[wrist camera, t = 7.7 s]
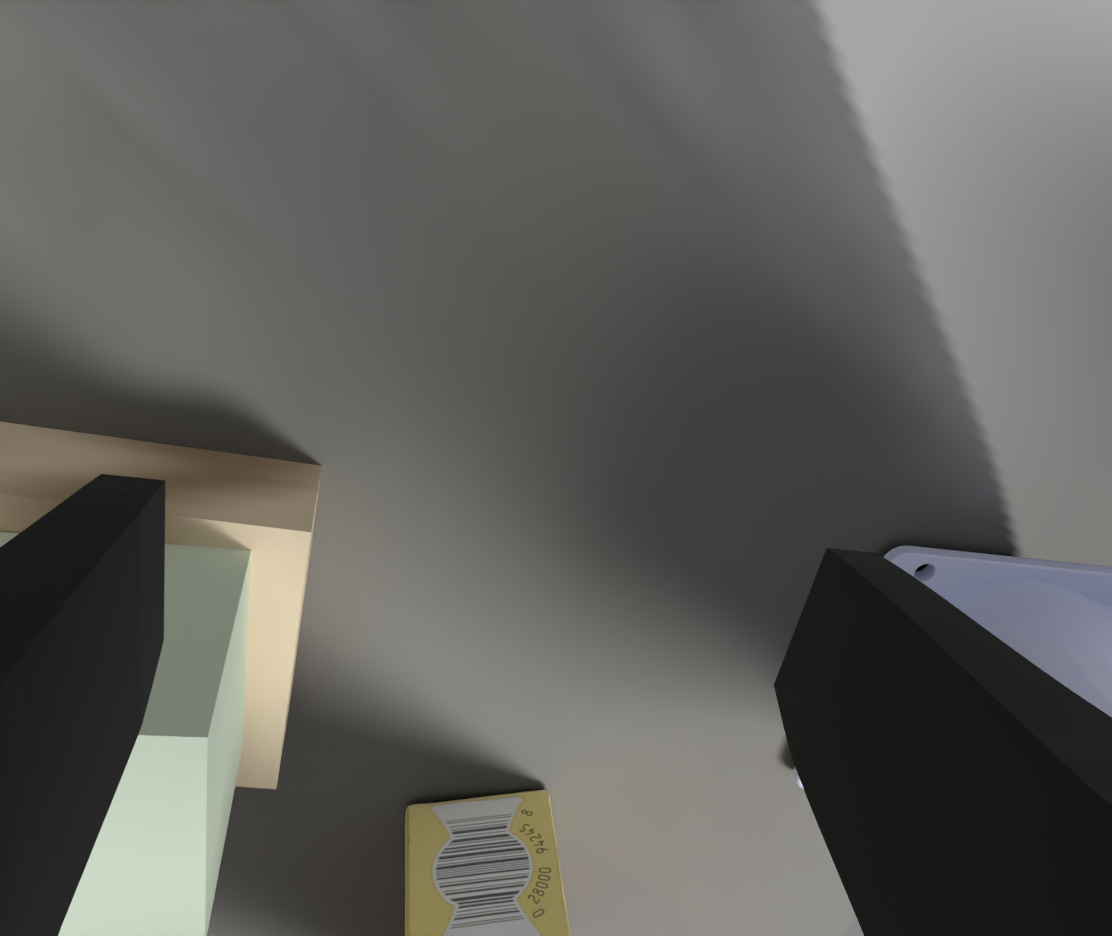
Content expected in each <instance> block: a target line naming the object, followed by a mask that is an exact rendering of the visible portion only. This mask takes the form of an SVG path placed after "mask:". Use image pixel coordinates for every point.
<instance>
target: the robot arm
mask: <svg viewBox="0 0 1112 936" xmlns="http://www.w3.org/2000/svg"><path fill="white" fill-rule="evenodd" d="M165 482H166V480H157V479H148V478H138V477H128V476H118V475H108V474H100V475H99V476H98V477H96V478H95V479H93V480H92V481H90V482H89V483H88V484H86V485H85V486H83V487H82V488H81V489H79V490H78V491H76V492H75V493H74V494H72V495H71V496H69V497H68V498H67V499H65V500H64V501H63V502H61V503H60V504H58V505H57V506H56V507H54V508H53V509H52V510H50V511H49V512H48V513H46V514H45V515H44V516H42V517H41V518H40V519H38V520H37V521H36V522H34V523H33V524H31V525H30V526H29V527H27V528H26V529H25V530H23V531H22V532H20V533H19V534H18V535H16V536H15V537H14V538H12V539H11V540H10V541H8V542H7V543H5V544H4V545H2V546H1V547H0V936H58V935H59V932H60V929H61V926H62V924H63V921H64V919H65V916H66V914H67V912H68V909H69V907H70V904H71V902H72V899H73V897H74V894H75V892H76V889H77V887H78V884H79V882H80V879H81V877H82V874H83V872H84V869H85V867H86V864H87V862H88V859H89V857H90V855H91V852H92V850H93V847H94V845H95V842H96V840H97V837H98V835H99V832H100V830H101V827H102V825H103V822H104V820H105V817H106V815H107V812H108V810H109V807H110V805H111V803H112V800H113V798H114V795H115V793H116V790H117V788H118V785H119V783H120V780H121V777H122V775H123V772H124V770H125V767H126V765H127V762H128V760H129V757H130V755H131V752H132V750H133V747H134V745H135V742H136V740H137V737H138V734H139V732H140V729H141V727H142V723H143V719H144V716H145V712H146V708H147V704H148V701H149V697H150V693H151V689H152V686H153V682H154V678H155V674H156V670H157V666H158V662H159V658H160V654H161V650H162V646H163V642H164V577H165ZM923 564H928V565H927V566H926V567H925V569H923V570H921V571H919V572H915V571H916V570H917V568H918V567H920V566H921V565H923ZM774 687H775V691H776V695H777V700H778V704H779V708H780V713H781V717H782V721H783V726H784V730H785V733H786V737H787V741H788V744H789V748H790V752H791V755H792V759H793V763H794V765H795V767H794V772H793V774H794V776H795V779H796V781H797V783H798V786H799V787H801V788H802V789H804V791H805V793H806V796H807V798H808V801H809V803H810V806H811V808H812V811H813V813H814V816H815V818H816V821H817V823H818V826H819V828H820V830H821V833H822V835H823V838H824V840H825V842H826V845H827V847H828V849H829V852H830V854H831V857H832V859H833V861H834V864H835V866H836V869H837V871H838V873H839V876H840V878H841V881H842V883H843V885H844V888H845V890H846V893H847V895H848V897H849V900H850V902H851V905H852V907H853V909H854V912H855V914H856V917H857V919H858V921H859V924H860V926H861V929H862V931H863V933H864V936H1112V567H1106V566H1097V565H1088V564H1078V563H1069V562H1059V561H1049V560H1040V559H1030V558H1021V557H1011V556H1002V555H992V554H983V553H973V552H964V551H954V550H945V549H935V548H925V547H916V546H899V547H896V548H894V549H892V550H890V551H889V552H888V553H887V554H885V556H884V558H883V557H882V556H880V555H878V554H876V553H870V552H860V551H850V550H840V549H831V548H827V549H826V552H825V554H824V557H823V559H822V562H821V565H820V567H819V570H818V572H817V575H816V577H815V580H814V583H813V585H812V588H811V590H810V593H809V596H808V598H807V601H806V603H805V606H804V608H803V611H802V614H801V616H800V619H799V621H798V624H797V627H796V629H795V632H794V634H793V637H792V640H791V642H790V645H789V647H788V650H787V652H786V655H785V658H784V660H783V663H782V665H781V668H780V671H779V673H778V676H777V678H776V681H775V684H774Z"/></svg>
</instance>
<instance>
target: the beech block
mask: <svg viewBox="0 0 1112 936" xmlns="http://www.w3.org/2000/svg"><path fill="white" fill-rule="evenodd" d="M321 470H322V466H321V465H314V464H307V463H299V462H292V461H285V460H277V459H270V458H263V457H256V456H248V455H241V454H234V453H226V452H219V451H212V450H204V449H197V448H190V447H182V446H175V445H168V444H161V443H153V442H146V441H139V440H131V439H124V438H117V437H109V436H102V435H95V434H87V433H80V432H73V431H66V430H58V429H51V428H44V427H36V426H29V425H22V424H14V423H7V422H0V532H6V533H20V532H22V531H23V530H25V529H26V528H27V527H29V526H30V525H31V524H33V523H34V522H36V521H37V520H38V519H40V518H41V517H42V516H44V515H45V514H46V513H48V512H49V511H50V510H52V509H53V508H54V507H56V506H57V505H58V504H60V503H61V502H63V501H64V500H65V499H67V498H68V497H69V496H71V495H72V494H74V493H75V492H76V491H78V490H79V489H81V488H82V487H83V486H85V485H86V484H88V483H89V482H90V481H92V480H93V479H95V478H96V477H98V476H99V475H100V474H108V475H118V476H128V477H138V478H148V479H157V480H166V482H165V544H175V545H190V546H204V547H217V548H230V549H243V550H251V567H250V594H249V620H248V647H247V673H246V700H245V726H244V743H243V748H242V753H241V758H240V764H239V769H238V774H237V779H236V785H235V787H250V788H264V789H277V782H278V776H279V770H280V763H281V757H282V751H283V745H284V738H285V732H286V726H287V719H288V713H289V707H290V699H291V692H292V685H293V677H294V670H295V662H296V655H297V648H298V640H299V633H300V625H301V618H302V611H303V603H304V596H305V589H306V581H307V574H308V566H309V559H310V552H311V544H312V537H313V529H314V522H315V515H316V507H317V500H318V493H319V485H320V478H321Z"/></svg>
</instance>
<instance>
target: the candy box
mask: <svg viewBox="0 0 1112 936" xmlns="http://www.w3.org/2000/svg"><path fill="white" fill-rule="evenodd" d="M405 936H571V934H570V928H569V922H568V916H567V909H566V903H565V897H564V890H563V884H562V877H561V871H560V864H559V857H558V850H557V844H556V837H555V831H554V824H553V817H552V809H551V801H550V794H549V792H548V791H547V790H537V791H526V792H518V793H510V794H501V795H492V796H484V797H476V798H469V799H461V800H451V801H444V802H436V803H422V804H413V805H410V806H408V807H407V809H406V813H405Z"/></svg>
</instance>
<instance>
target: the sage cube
mask: <svg viewBox="0 0 1112 936" xmlns="http://www.w3.org/2000/svg"><path fill="white" fill-rule="evenodd" d="M18 534H19V533H6V532H0V547H1V546H2V545H4V544H5V543H7V542H8V541H10V540H11V539H12V538H14V537H15V536H16V535H18ZM250 567H251V550H243V549H230V548H217V547H204V546H190V545H175V544H165V577H164V642H163V646H162V650H161V654H160V658H159V662H158V666H157V670H156V674H155V678H154V682H153V686H152V689H151V693H150V697H149V701H148V704H147V708H146V712H145V716H144V719H143V723H142V727H141V729H140V732H139V734H138V737H137V740H136V742H135V745H134V747H133V750H132V752H131V755H130V757H129V760H128V762H127V765H126V767H125V770H124V772H123V775H122V777H121V780H120V783H119V785H118V788H117V790H116V793H115V795H114V798H113V800H112V803H111V805H110V807H109V810H108V812H107V815H106V817H105V820H104V822H103V825H102V827H101V830H100V832H99V835H98V837H97V840H96V842H95V845H94V847H93V850H92V852H91V855H90V857H89V859H88V862H87V864H86V867H85V869H84V872H83V874H82V877H81V879H80V882H79V884H78V887H77V889H76V892H75V894H74V897H73V899H72V902H71V904H70V907H69V909H68V912H67V914H66V916H65V919H64V921H63V924H62V926H61V929H60V932H59V935H58V936H207V933H208V927H209V922H210V917H211V911H212V906H213V901H214V896H215V890H216V885H217V880H218V874H219V869H220V864H221V859H222V853H223V848H224V843H225V838H226V832H227V827H228V822H229V816H230V811H231V806H232V801H233V795H234V790H235V785H236V779H237V774H238V769H239V764H240V758H241V753H242V748H243V743H244V726H245V700H246V673H247V647H248V620H249V594H250Z"/></svg>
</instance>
